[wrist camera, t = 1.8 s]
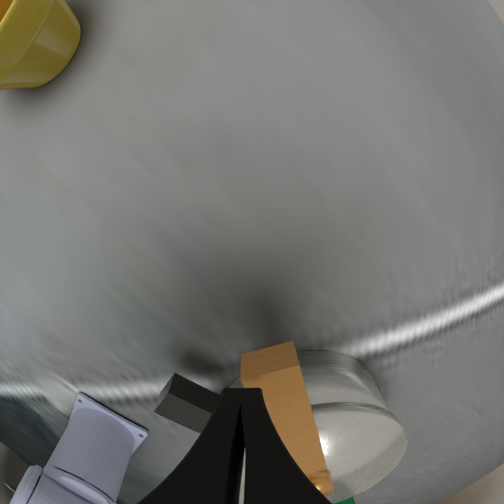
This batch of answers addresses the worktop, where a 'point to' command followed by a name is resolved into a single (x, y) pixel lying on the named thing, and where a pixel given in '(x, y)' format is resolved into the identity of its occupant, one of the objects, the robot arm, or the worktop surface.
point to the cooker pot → (315, 376)
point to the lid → (323, 427)
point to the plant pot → (35, 41)
